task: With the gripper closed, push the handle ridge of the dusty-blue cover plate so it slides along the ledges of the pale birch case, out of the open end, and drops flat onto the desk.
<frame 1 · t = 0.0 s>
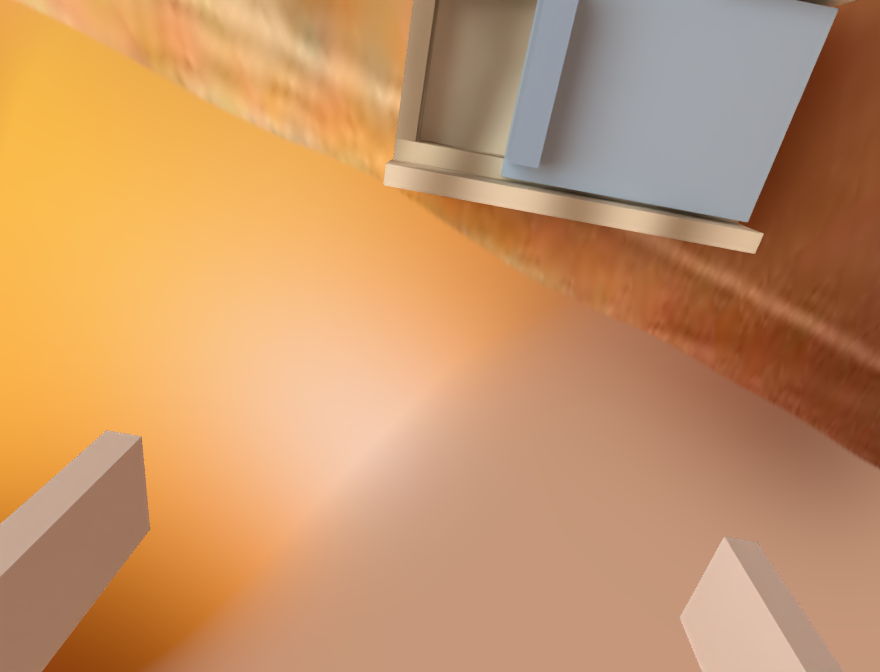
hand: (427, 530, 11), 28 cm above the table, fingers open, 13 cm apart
cover plate: (648, 99, 29), point 4 cm above the table, touching case
case: (580, 91, 33), on the table
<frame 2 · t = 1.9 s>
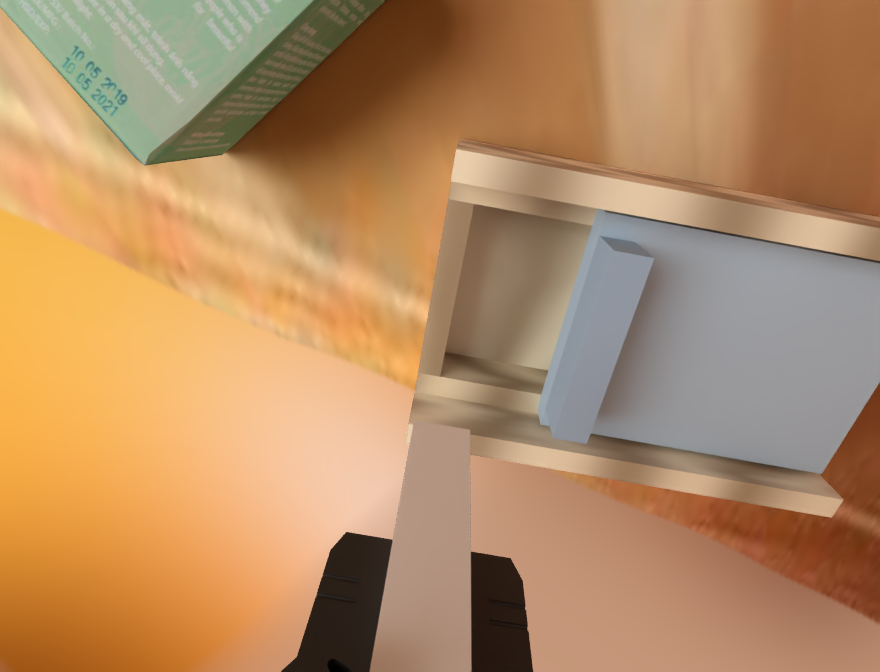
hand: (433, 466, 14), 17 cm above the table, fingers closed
cover plate: (711, 343, 25), point 4 cm above the table, touching case
case: (626, 303, 29), on the table
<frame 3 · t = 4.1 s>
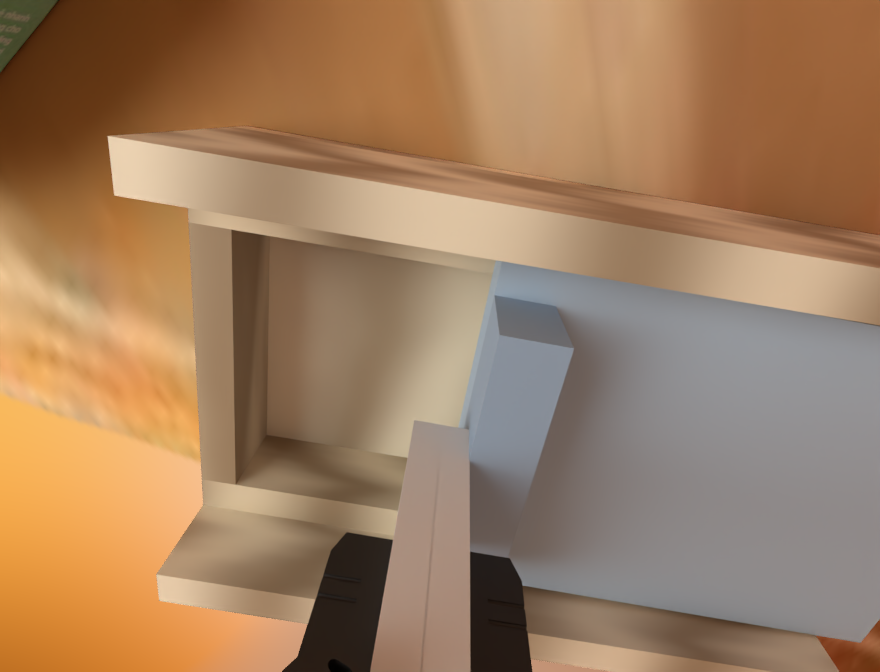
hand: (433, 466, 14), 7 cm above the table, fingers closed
cover plate: (690, 450, 16), point 4 cm above the table, touching case, gripper
case: (525, 364, 20), on the table
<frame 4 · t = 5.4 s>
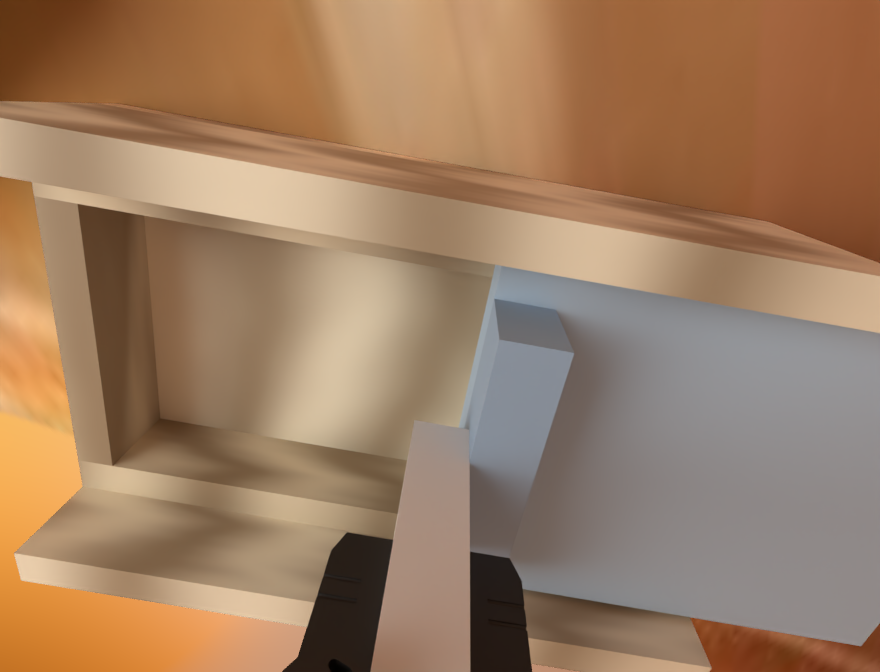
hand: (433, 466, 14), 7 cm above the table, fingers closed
cover plate: (690, 453, 16), point 4 cm above the table, touching case
case: (416, 349, 20), on the table
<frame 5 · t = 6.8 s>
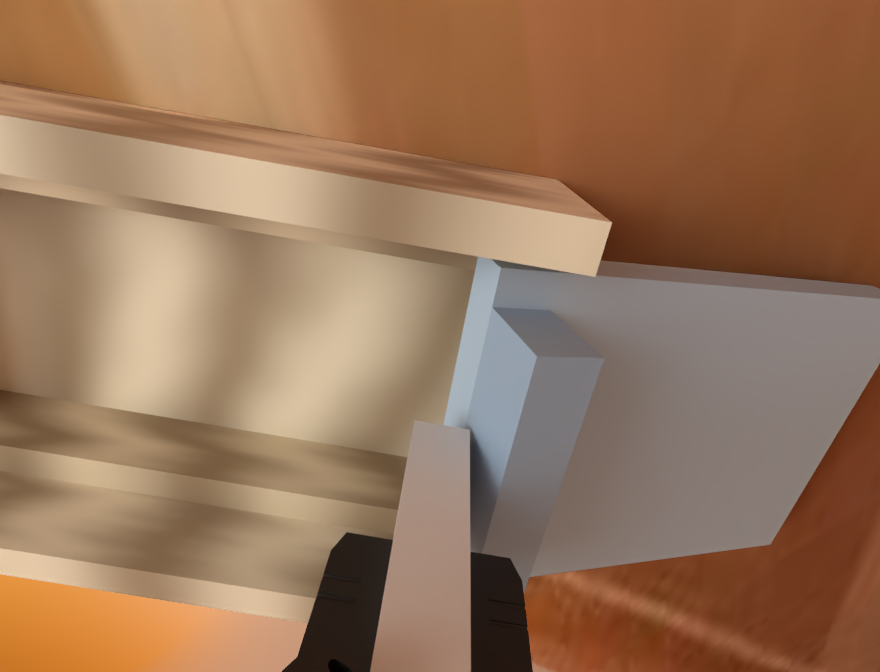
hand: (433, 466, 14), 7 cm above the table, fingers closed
cover plate: (645, 418, 18), point 2 cm above the table, tilted 19°, touching case
case: (233, 315, 19), on the table
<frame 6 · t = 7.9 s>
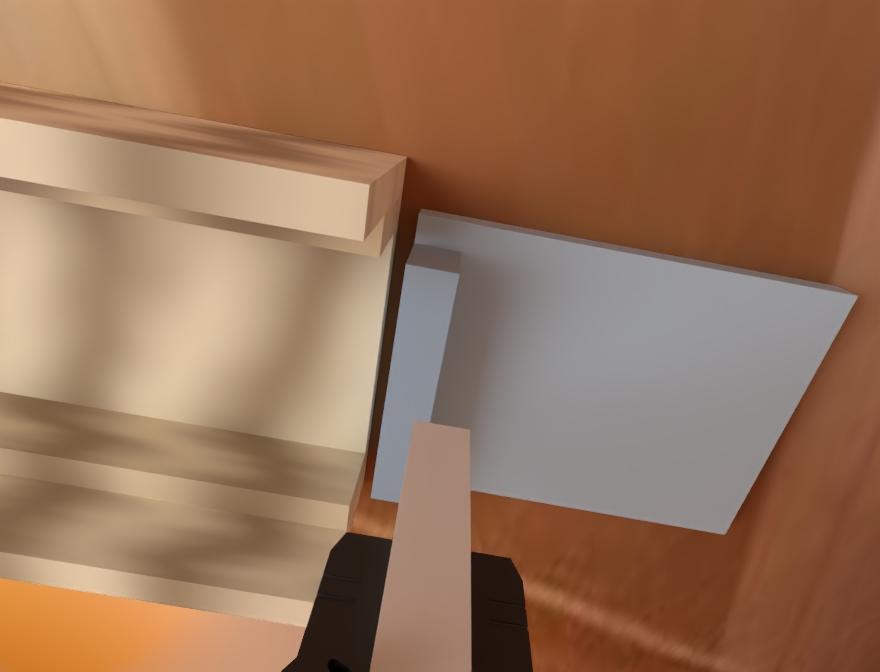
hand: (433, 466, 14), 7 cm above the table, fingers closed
cover plate: (583, 375, 20), on the table
case: (100, 294, 19), on the table
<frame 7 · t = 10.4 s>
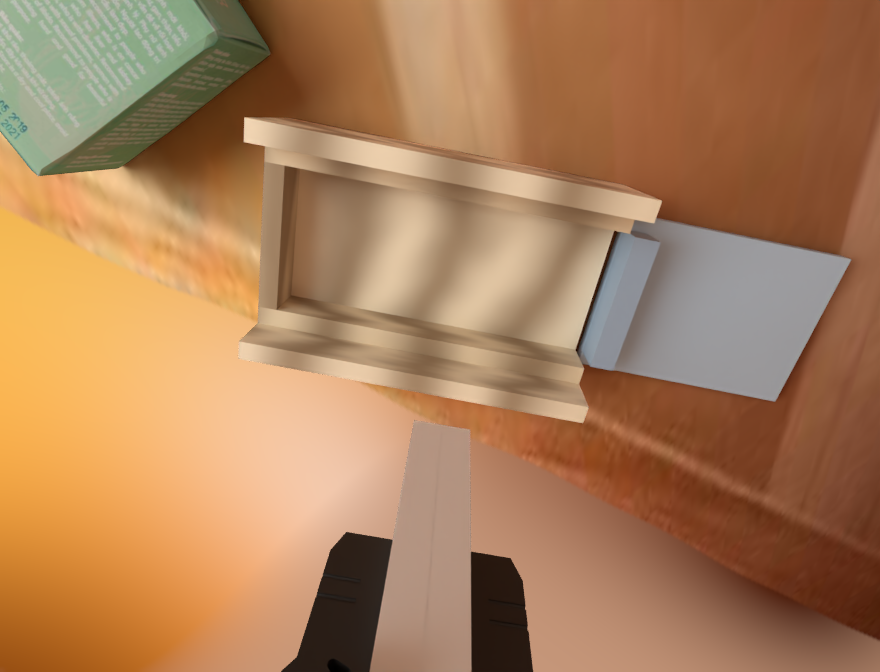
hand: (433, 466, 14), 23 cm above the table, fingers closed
cover plate: (697, 306, 36), on the table
case: (438, 256, 35), on the table
box: (160, 58, 31), on the table
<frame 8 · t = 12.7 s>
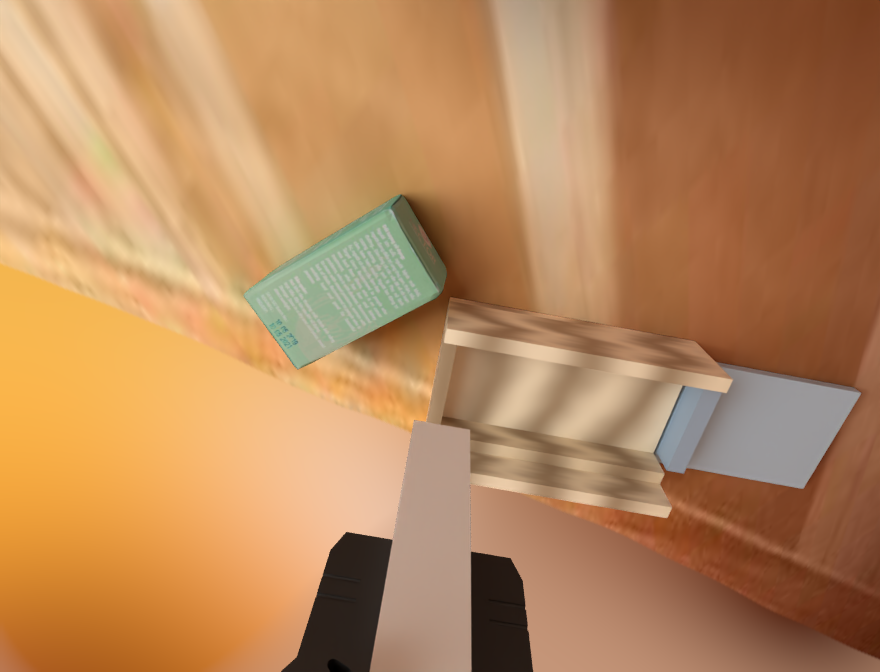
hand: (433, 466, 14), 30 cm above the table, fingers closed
cover plate: (744, 420, 48), on the table
case: (552, 387, 47), on the table
box: (362, 266, 43), on the table
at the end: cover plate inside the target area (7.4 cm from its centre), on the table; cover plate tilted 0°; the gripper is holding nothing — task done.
